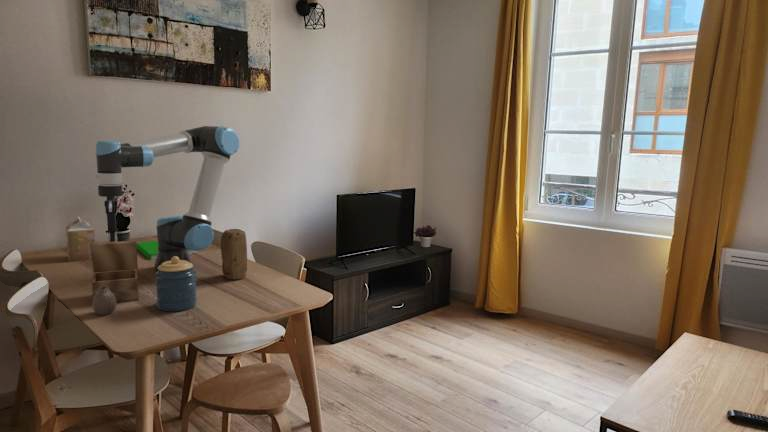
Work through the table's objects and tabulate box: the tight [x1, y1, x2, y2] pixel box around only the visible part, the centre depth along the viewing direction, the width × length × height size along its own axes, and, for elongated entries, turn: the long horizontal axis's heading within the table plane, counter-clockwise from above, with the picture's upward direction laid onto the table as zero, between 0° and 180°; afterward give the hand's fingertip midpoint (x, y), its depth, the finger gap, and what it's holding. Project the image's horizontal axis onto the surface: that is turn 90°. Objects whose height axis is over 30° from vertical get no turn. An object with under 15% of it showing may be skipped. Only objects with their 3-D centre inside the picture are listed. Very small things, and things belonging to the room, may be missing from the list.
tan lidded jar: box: [65, 216, 96, 263], centre depth 231 cm, size 11×11×19 cm
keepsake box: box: [91, 269, 140, 304], centre depth 181 cm, size 14×12×8 cm
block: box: [220, 228, 248, 281], centre depth 208 cm, size 11×8×20 cm
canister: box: [154, 256, 198, 313], centre depth 173 cm, size 13×13×18 cm
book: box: [136, 240, 199, 261], centre depth 251 cm, size 22×28×3 cm
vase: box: [92, 287, 117, 316], centre depth 165 cm, size 7×7×9 cm
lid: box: [90, 240, 138, 274], centre depth 183 cm, size 14×12×1 cm
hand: (113, 249), depth 182 cm, fingers closed
